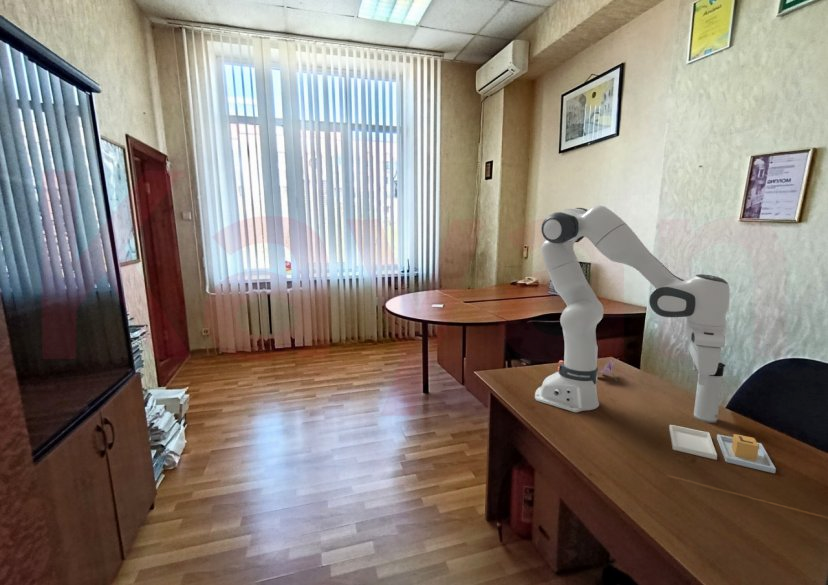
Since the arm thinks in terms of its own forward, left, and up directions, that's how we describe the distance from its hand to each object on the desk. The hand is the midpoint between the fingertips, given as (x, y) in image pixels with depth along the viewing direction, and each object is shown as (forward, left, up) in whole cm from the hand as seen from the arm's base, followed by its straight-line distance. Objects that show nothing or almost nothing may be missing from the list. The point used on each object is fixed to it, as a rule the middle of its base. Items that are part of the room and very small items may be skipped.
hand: (699, 378), depth 106 cm
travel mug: (+6, +19, -21) cm, 29 cm away
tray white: (0, 0, -21) cm, 21 cm away
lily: (-25, +42, -21) cm, 53 cm away
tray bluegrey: (+12, 0, -21) cm, 24 cm away
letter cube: (+12, 0, -21) cm, 24 cm away
